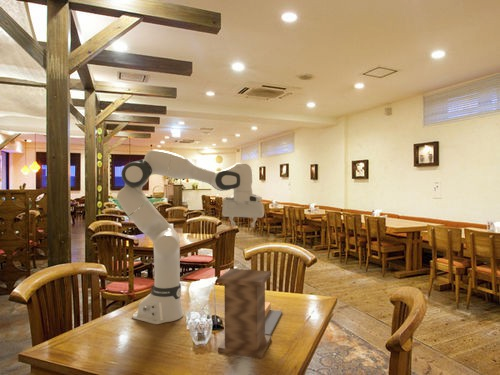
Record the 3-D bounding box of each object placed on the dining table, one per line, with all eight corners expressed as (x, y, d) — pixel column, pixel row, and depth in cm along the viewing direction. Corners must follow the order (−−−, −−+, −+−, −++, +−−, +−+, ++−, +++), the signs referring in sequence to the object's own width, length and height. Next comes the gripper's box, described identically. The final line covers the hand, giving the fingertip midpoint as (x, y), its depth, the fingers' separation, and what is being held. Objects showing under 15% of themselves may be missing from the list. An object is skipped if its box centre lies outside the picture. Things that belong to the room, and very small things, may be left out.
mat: (235, 332, 131) (235, 329, 131) (252, 310, 154) (252, 307, 154) (269, 336, 127) (269, 334, 127) (282, 313, 150) (282, 311, 150)
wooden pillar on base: (217, 351, 116) (217, 278, 116) (231, 334, 130) (231, 268, 130) (261, 358, 112) (261, 282, 111) (271, 339, 125) (270, 271, 125)
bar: (250, 328, 133) (250, 320, 133) (264, 308, 154) (264, 301, 154) (257, 328, 132) (257, 321, 132) (270, 308, 153) (270, 302, 153)
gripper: (220, 197, 156) (220, 226, 156) (261, 198, 150) (261, 228, 150) (224, 196, 162) (224, 224, 162) (265, 197, 156) (265, 226, 156)
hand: (242, 226), depth 156 cm, fingers open, 8 cm apart
